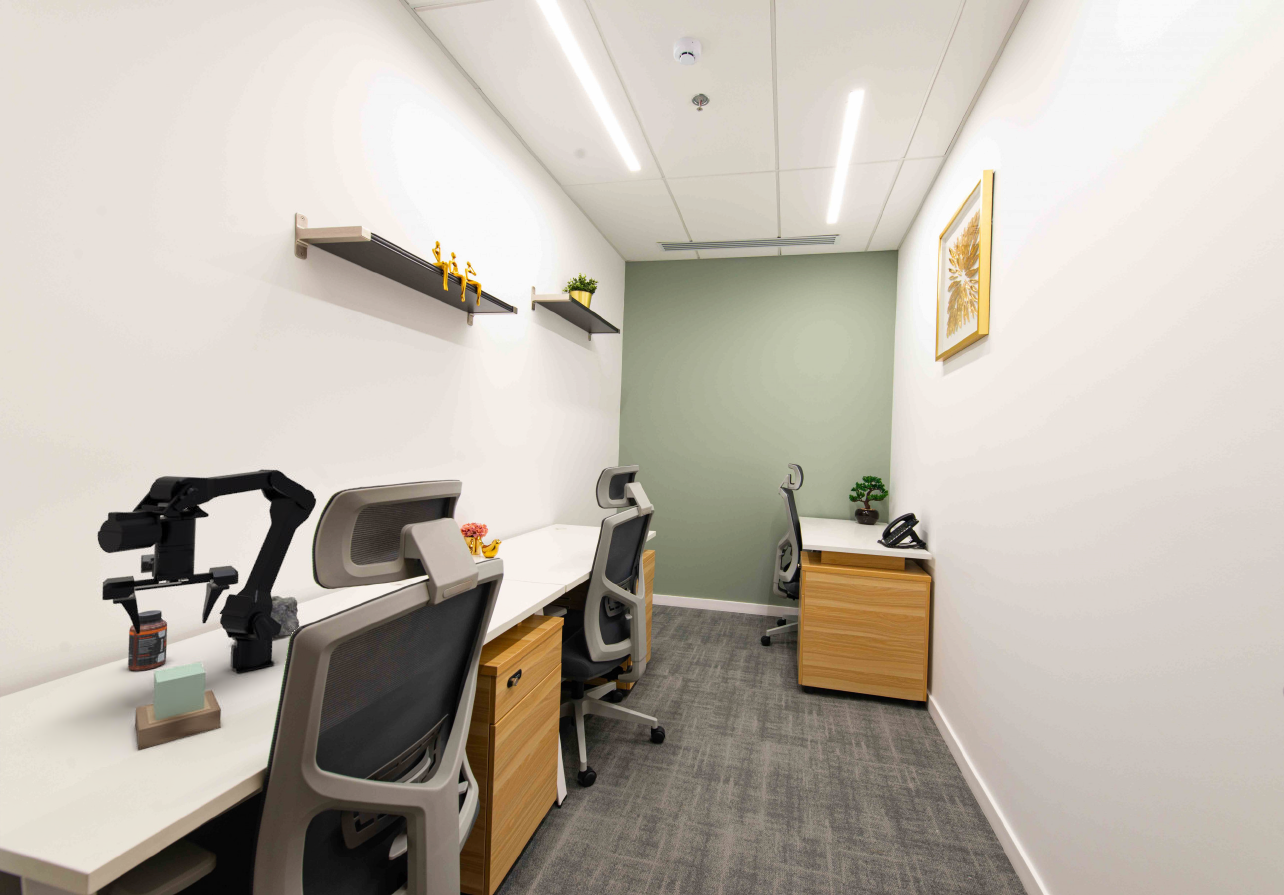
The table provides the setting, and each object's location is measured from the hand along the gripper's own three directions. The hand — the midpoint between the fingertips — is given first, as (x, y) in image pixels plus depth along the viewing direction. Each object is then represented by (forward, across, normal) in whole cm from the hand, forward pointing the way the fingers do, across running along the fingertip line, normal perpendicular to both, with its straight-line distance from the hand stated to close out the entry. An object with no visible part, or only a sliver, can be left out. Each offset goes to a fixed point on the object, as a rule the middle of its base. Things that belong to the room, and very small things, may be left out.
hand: (172, 627), depth 100 cm
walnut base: (+13, 0, +14) cm, 19 cm away
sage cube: (+10, 0, +14) cm, 17 cm away
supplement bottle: (+13, +2, -22) cm, 26 cm away
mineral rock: (+13, -20, -27) cm, 36 cm away
